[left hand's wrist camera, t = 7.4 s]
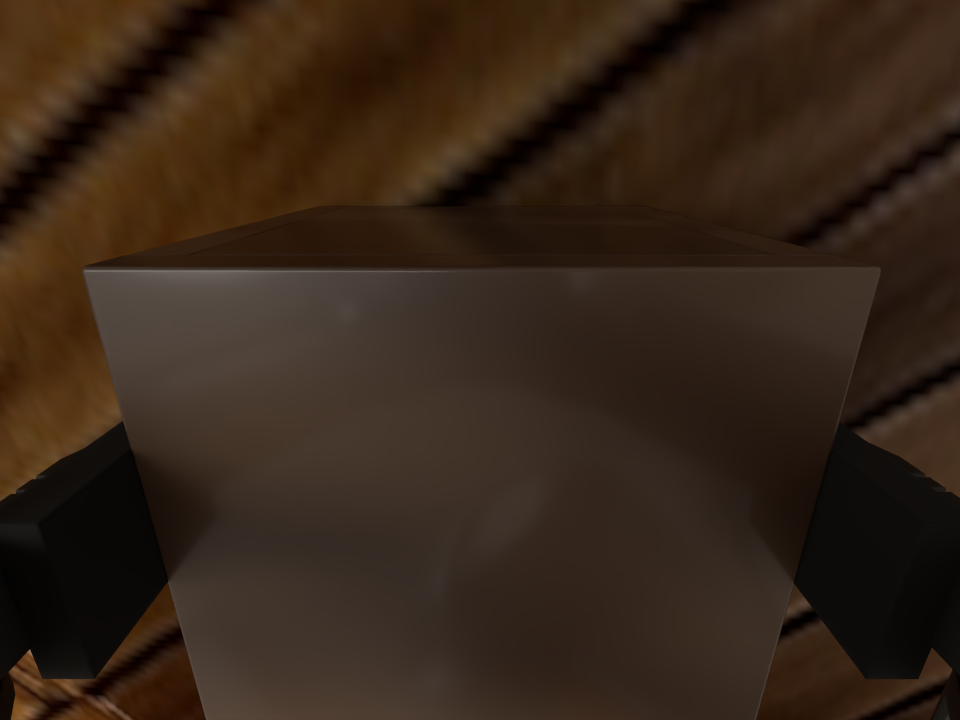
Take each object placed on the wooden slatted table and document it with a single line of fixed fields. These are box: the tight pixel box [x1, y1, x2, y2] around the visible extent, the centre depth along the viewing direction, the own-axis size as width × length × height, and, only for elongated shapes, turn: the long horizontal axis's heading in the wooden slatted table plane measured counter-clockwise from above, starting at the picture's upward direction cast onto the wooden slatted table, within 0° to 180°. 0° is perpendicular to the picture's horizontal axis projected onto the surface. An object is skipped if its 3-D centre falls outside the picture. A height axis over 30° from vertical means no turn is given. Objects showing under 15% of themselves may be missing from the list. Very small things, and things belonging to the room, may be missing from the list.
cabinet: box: [82, 206, 881, 720], centre depth 15 cm, size 16×11×11 cm
